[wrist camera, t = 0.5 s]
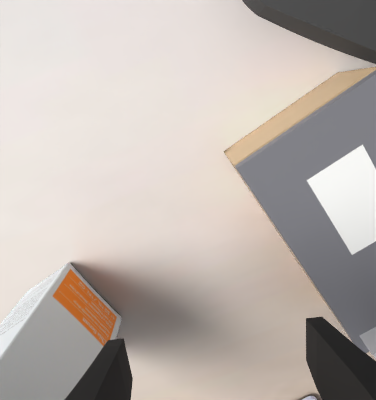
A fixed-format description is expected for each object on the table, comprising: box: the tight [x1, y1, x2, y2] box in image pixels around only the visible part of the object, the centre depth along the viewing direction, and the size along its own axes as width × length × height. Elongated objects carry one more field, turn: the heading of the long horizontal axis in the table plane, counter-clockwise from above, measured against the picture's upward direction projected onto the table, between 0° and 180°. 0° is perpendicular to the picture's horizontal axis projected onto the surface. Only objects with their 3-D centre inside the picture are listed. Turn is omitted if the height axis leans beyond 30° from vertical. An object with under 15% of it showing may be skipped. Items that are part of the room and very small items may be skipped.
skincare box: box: [0, 263, 122, 400], centre depth 17 cm, size 6×4×12 cm
